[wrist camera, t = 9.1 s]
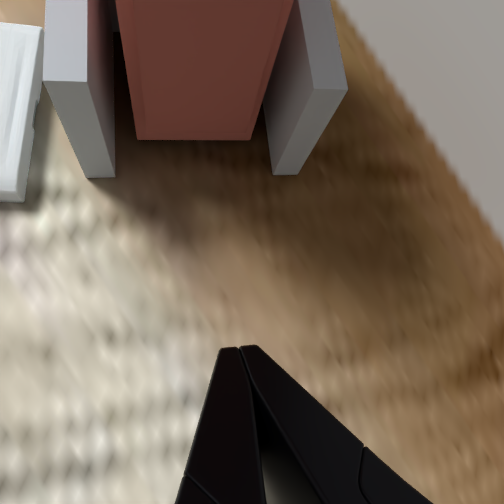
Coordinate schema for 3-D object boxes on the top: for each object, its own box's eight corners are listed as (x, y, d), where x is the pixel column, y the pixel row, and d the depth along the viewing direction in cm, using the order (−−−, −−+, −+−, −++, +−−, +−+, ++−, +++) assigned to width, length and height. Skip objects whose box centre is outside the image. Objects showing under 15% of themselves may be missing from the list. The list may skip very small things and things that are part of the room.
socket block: (297, 174, 19) (410, -15, 10) (85, 177, 17) (-17, -52, 8) (273, 22, 22) (346, -242, 12) (86, 10, 20) (9, -311, 11)
